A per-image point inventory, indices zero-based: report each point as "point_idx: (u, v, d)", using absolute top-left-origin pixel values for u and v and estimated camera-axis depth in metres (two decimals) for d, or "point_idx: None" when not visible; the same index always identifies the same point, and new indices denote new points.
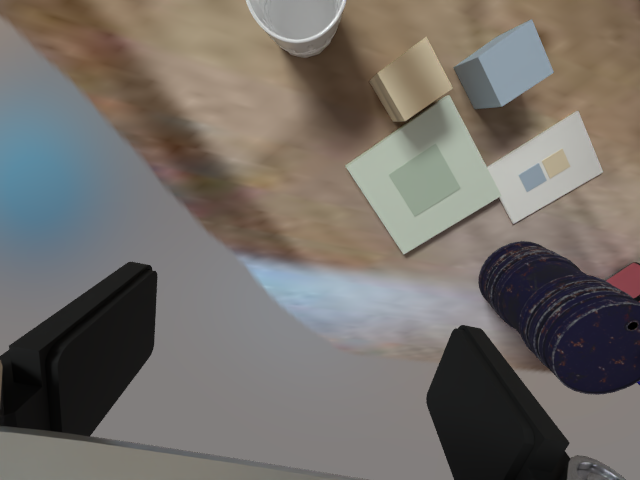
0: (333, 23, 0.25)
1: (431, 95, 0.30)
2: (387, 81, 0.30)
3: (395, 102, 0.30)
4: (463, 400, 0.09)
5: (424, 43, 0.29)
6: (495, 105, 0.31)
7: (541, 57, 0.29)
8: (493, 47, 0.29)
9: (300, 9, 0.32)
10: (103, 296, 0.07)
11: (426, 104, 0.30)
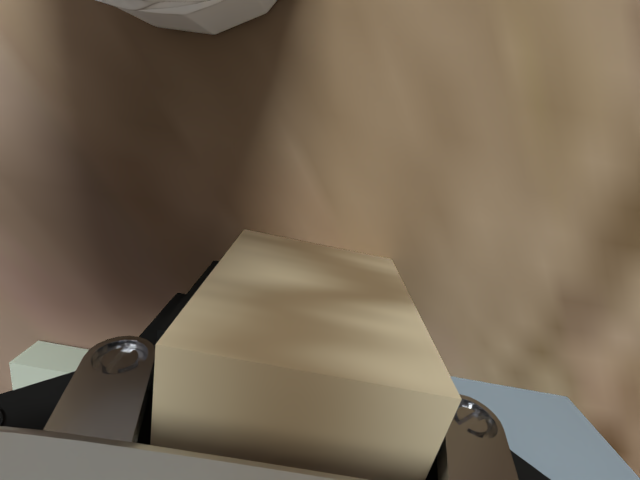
0: None
1: None
2: (176, 403, 0.06)
3: None
4: None
5: (430, 411, 0.05)
6: None
7: None
8: None
9: None
10: None
11: None
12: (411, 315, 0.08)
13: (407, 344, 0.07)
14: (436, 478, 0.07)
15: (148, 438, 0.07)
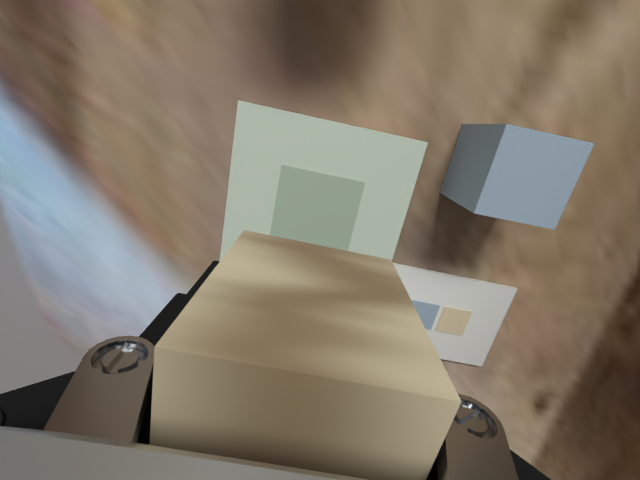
0: None
1: None
2: (175, 405, 0.05)
3: None
4: None
5: (430, 413, 0.05)
6: (467, 206, 0.20)
7: (560, 199, 0.19)
8: (531, 131, 0.18)
9: None
10: None
11: None
12: (411, 317, 0.08)
13: (407, 346, 0.07)
14: (436, 478, 0.07)
15: (148, 438, 0.07)
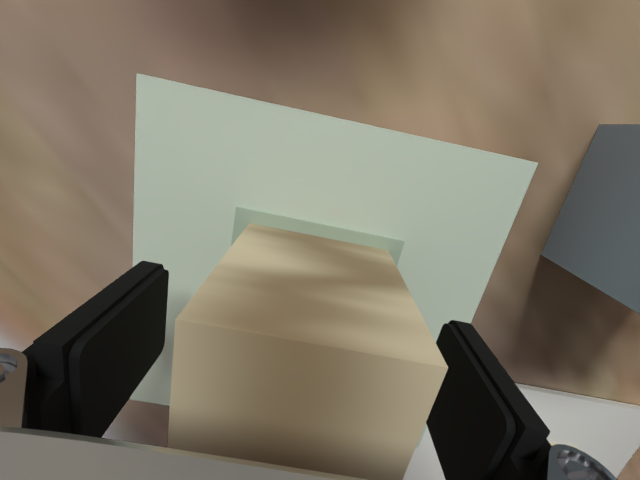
0: None
1: None
2: (192, 373, 0.06)
3: (172, 444, 0.07)
4: (451, 393, 0.09)
5: (421, 379, 0.06)
6: None
7: None
8: None
9: None
10: (119, 294, 0.08)
11: None
12: (405, 299, 0.08)
13: (401, 322, 0.07)
14: None
15: None
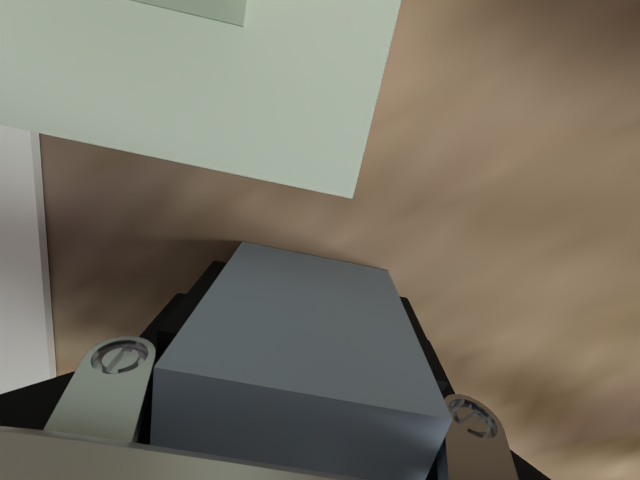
0: None
1: None
2: None
3: None
4: None
5: None
6: (190, 331, 0.06)
7: None
8: (419, 475, 0.06)
9: None
10: None
11: None
12: None
13: None
14: (436, 478, 0.07)
15: (148, 438, 0.07)
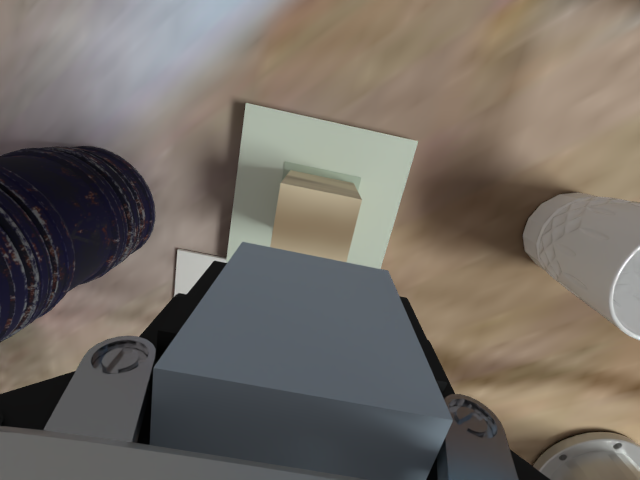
0: (613, 284, 0.19)
1: (282, 233, 0.21)
2: (342, 201, 0.20)
3: (312, 191, 0.20)
4: None
5: None
6: (190, 331, 0.06)
7: None
8: (420, 476, 0.06)
9: None
10: None
11: (276, 220, 0.20)
12: None
13: None
14: (436, 478, 0.07)
15: (148, 438, 0.07)
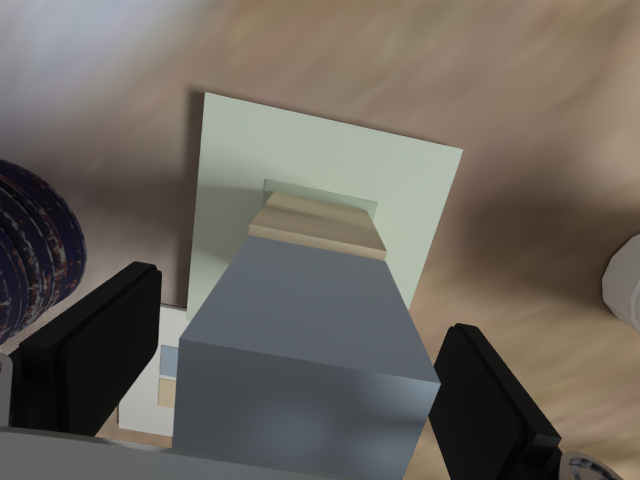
0: None
1: None
2: None
3: (303, 237, 0.12)
4: (458, 397, 0.09)
5: None
6: (208, 310, 0.07)
7: None
8: (413, 436, 0.07)
9: None
10: (109, 295, 0.08)
11: None
12: None
13: None
14: None
15: None
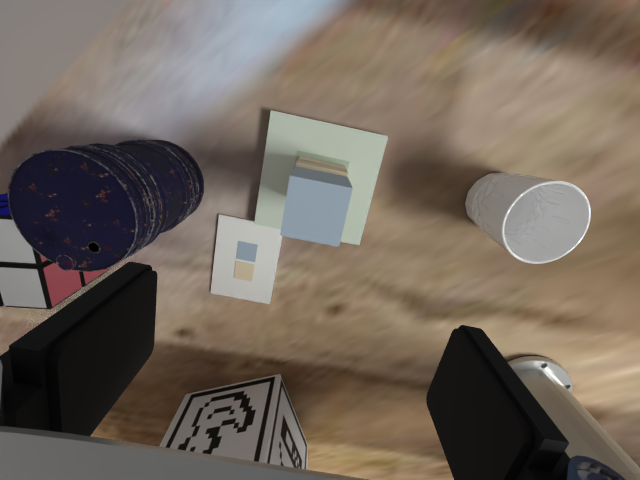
0: (503, 223, 0.30)
1: None
2: None
3: (316, 167, 0.31)
4: (463, 400, 0.09)
5: None
6: (293, 174, 0.26)
7: (301, 234, 0.27)
8: (347, 205, 0.26)
9: None
10: (103, 296, 0.07)
11: None
12: None
13: None
14: None
15: None
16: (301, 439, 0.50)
